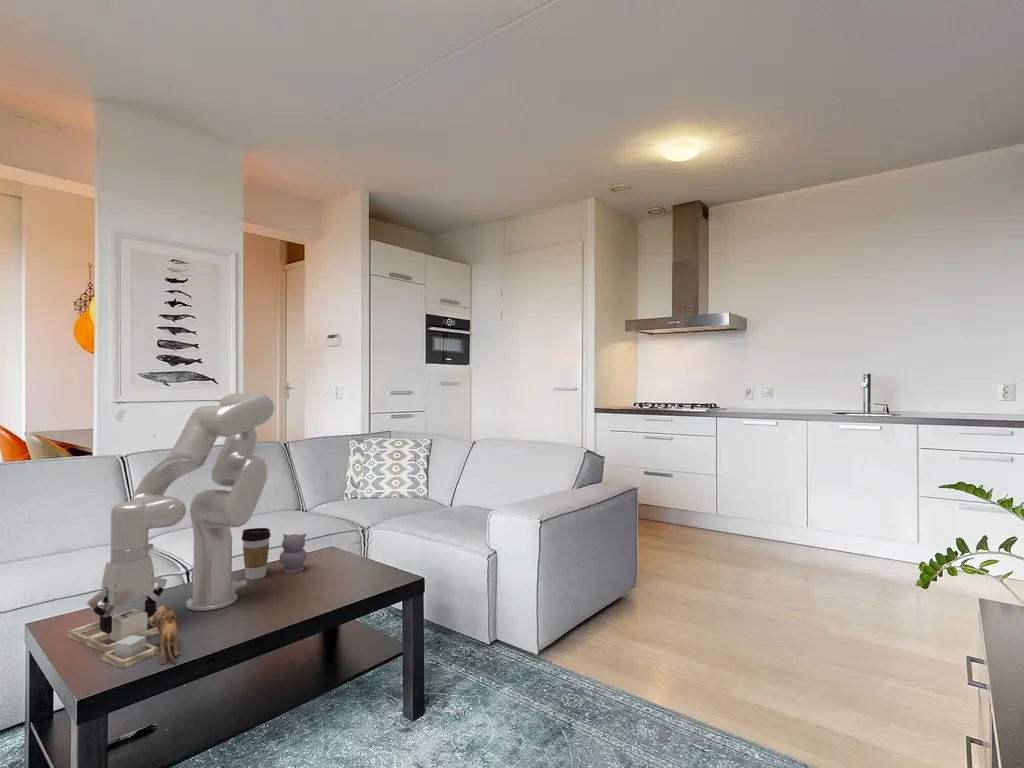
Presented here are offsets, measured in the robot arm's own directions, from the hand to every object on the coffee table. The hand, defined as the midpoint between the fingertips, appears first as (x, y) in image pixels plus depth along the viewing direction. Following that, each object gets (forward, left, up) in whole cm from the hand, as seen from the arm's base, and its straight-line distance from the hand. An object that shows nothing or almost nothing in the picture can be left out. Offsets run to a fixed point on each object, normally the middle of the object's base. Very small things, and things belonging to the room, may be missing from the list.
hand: (128, 624), depth 133 cm
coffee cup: (-43, -10, -3) cm, 44 cm away
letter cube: (0, 0, -3) cm, 3 cm away
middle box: (0, 0, -3) cm, 3 cm away
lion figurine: (0, +15, -3) cm, 16 cm away
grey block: (+5, +11, -3) cm, 12 cm away
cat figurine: (-53, -4, -3) cm, 53 cm away
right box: (0, -9, -3) cm, 9 cm away
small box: (+5, +11, -3) cm, 12 cm away
